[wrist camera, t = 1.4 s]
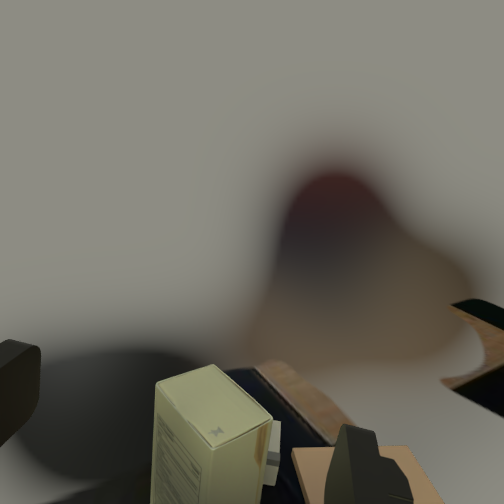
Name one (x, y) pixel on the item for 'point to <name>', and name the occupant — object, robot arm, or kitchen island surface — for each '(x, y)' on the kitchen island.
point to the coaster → (425, 495)
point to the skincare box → (208, 441)
